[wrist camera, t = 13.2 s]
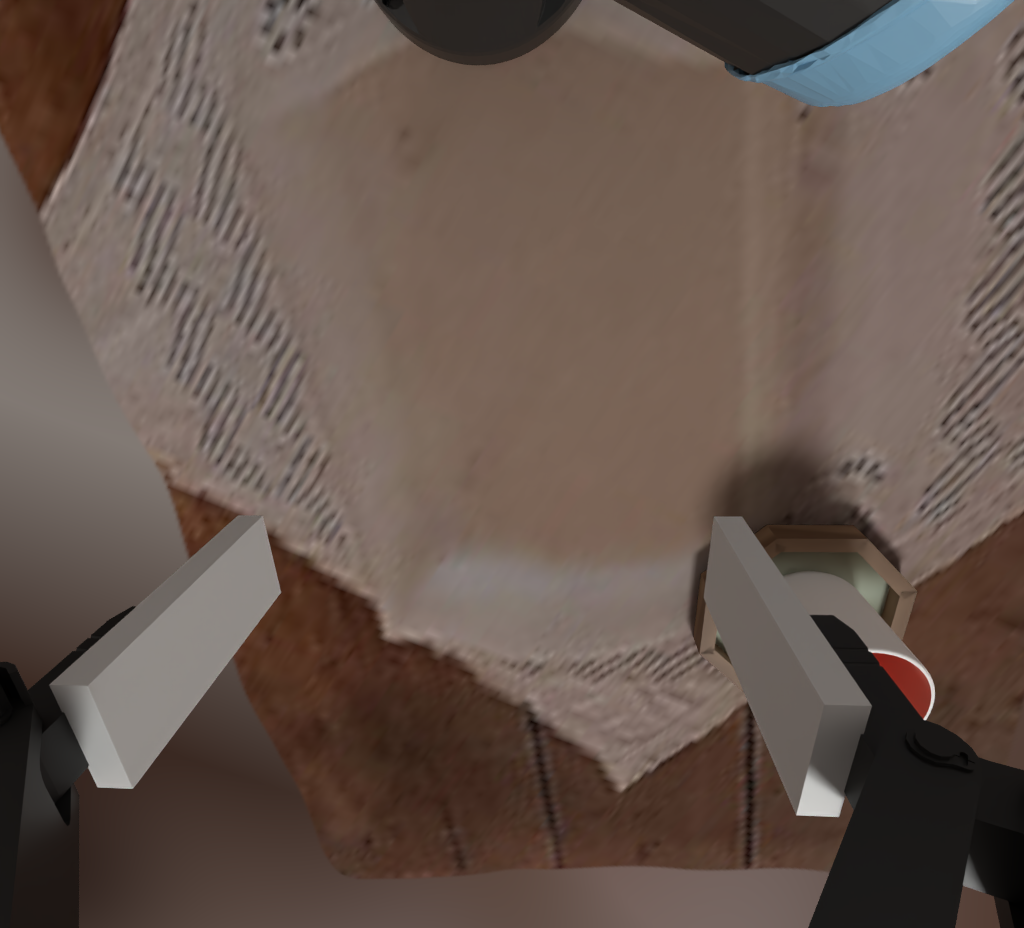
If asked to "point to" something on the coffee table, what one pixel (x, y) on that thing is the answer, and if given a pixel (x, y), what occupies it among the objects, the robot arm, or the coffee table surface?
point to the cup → (866, 632)
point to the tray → (822, 552)
